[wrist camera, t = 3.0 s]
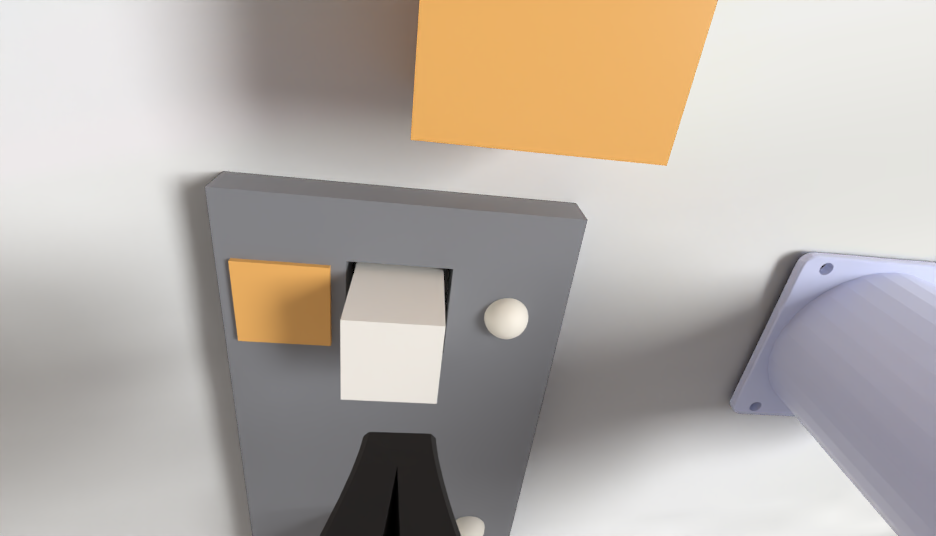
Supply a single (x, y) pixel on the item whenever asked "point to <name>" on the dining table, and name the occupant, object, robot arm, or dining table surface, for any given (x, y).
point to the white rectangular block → (392, 334)
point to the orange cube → (558, 74)
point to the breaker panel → (318, 335)
